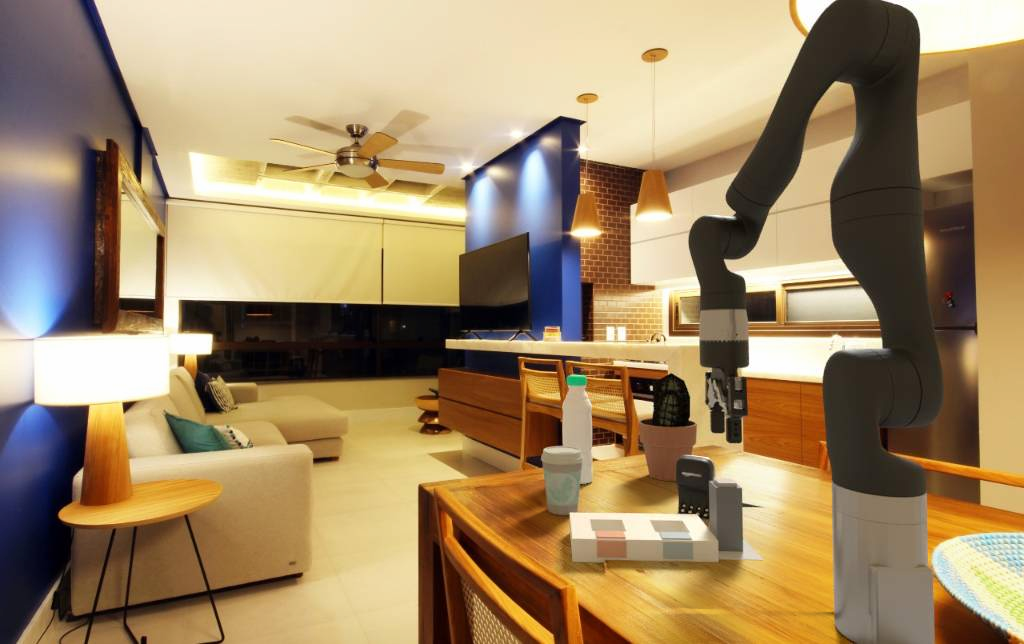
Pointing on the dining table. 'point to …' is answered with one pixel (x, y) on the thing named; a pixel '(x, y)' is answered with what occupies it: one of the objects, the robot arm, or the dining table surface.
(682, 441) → the potted plant
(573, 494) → the coffee cup
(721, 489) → the plug
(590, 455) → the water bottle
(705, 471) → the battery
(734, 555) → the mat
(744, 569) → the dining table surface
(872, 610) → the robot arm
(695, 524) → the dock
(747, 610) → the dining table surface
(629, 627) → the dining table surface
